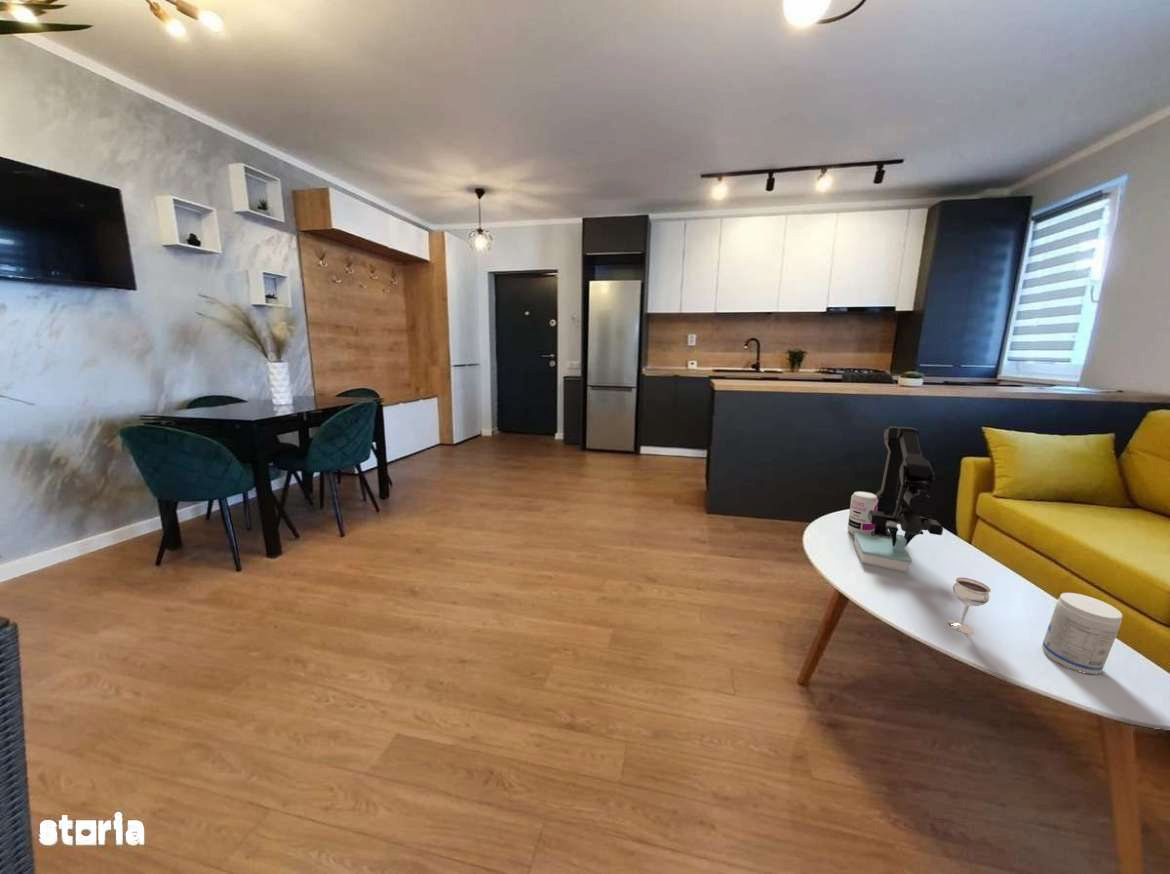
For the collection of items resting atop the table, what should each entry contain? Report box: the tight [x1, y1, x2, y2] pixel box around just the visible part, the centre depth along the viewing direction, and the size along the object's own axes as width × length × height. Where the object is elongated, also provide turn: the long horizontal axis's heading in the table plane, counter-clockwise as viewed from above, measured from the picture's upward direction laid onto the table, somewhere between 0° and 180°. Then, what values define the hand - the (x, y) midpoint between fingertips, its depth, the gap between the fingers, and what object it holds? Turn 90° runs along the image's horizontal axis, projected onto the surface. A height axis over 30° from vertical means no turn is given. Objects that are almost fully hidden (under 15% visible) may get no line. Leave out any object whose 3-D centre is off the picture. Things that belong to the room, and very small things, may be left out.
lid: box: [853, 533, 913, 564], centre depth 141 cm, size 14×13×6 cm
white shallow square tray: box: [853, 538, 910, 573], centre depth 142 cm, size 13×12×4 cm
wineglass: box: [948, 576, 992, 635], centre depth 108 cm, size 7×7×12 cm
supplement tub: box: [1041, 592, 1124, 675], centre depth 98 cm, size 10×10×15 cm
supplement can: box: [847, 491, 878, 536], centre depth 158 cm, size 8×8×15 cm
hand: (898, 546), depth 140 cm, fingers closed on lid, 2 cm apart
